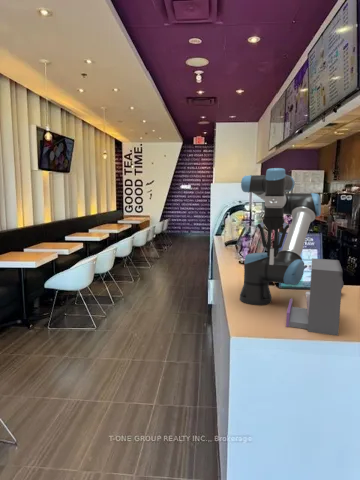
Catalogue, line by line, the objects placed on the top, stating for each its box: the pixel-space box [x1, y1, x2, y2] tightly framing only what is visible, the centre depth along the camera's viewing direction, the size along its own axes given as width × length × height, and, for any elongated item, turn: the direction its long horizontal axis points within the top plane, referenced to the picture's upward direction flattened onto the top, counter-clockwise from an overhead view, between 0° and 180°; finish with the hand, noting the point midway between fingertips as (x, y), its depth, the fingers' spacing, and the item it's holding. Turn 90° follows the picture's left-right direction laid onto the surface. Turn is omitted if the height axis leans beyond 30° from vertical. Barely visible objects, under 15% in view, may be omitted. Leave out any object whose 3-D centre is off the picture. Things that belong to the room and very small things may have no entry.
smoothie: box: [304, 290, 310, 317], centre depth 140 cm, size 6×6×14 cm
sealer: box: [307, 258, 344, 336], centre depth 138 cm, size 10×23×24 cm, turn 159°
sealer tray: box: [285, 298, 309, 330], centre depth 142 cm, size 16×20×6 cm
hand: (271, 264), depth 144 cm, fingers closed
